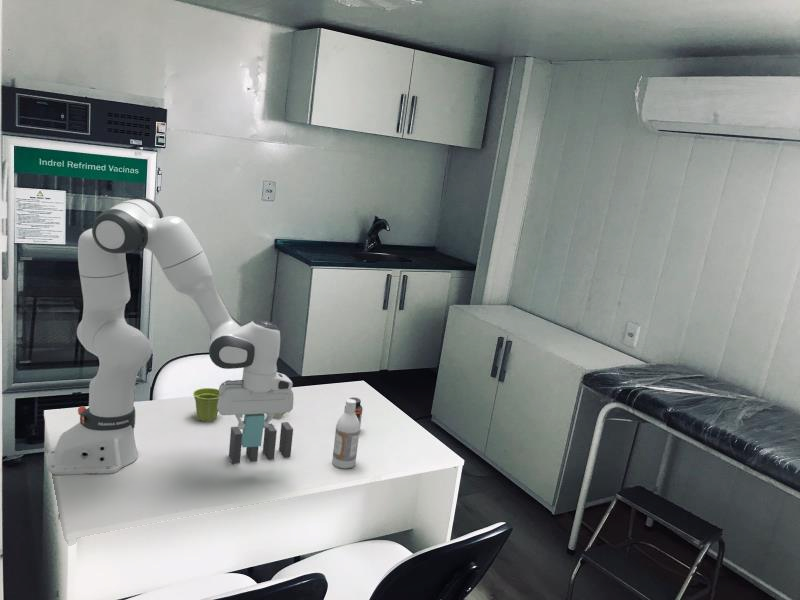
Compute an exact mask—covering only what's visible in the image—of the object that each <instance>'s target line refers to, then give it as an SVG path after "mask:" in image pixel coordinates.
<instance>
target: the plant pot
mask: <svg viewBox="0 0 800 600" xmlns="http://www.w3.org/2000/svg"><path fill="white" fill-rule="evenodd" d="M192 395H193V398H194V400H195V408H196V410H195V411H196V419H197V420H198V421H202V422H208V423H209V422H213V421H215V420H217V417H218V414H219V412H218V410H217V404H218V399H219V396H220V395H219V388H218V389H217V388H213V387H203V388H198V389H195V390H194V391H193V393H192Z"/></svg>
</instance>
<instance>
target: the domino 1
mask: <svg viewBox="0 0 800 600" xmlns="http://www.w3.org/2000/svg"><path fill="white" fill-rule="evenodd" d="M242 432H243V431H242V430H241V429H239V428H238V425H237V426H231V427H230V434H229V435H230V437H229V446H228V447H229V449H228V450H229V451H228V458H229V459H230V460H231V462H232V464H240V463H241V457H242V456H241V455H242V445H241V440H242Z"/></svg>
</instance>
